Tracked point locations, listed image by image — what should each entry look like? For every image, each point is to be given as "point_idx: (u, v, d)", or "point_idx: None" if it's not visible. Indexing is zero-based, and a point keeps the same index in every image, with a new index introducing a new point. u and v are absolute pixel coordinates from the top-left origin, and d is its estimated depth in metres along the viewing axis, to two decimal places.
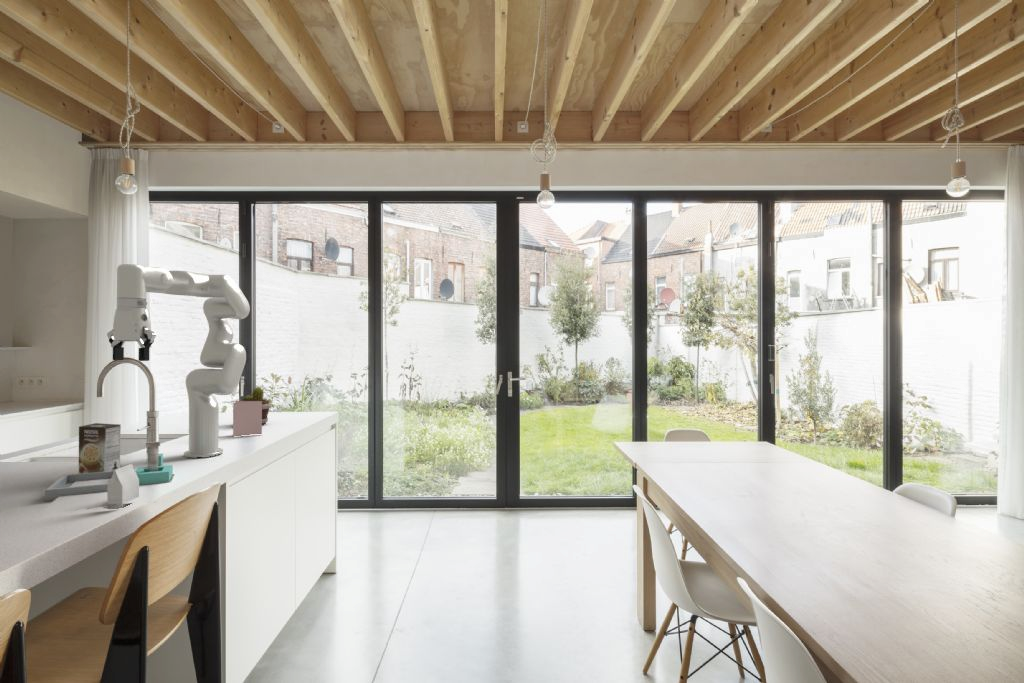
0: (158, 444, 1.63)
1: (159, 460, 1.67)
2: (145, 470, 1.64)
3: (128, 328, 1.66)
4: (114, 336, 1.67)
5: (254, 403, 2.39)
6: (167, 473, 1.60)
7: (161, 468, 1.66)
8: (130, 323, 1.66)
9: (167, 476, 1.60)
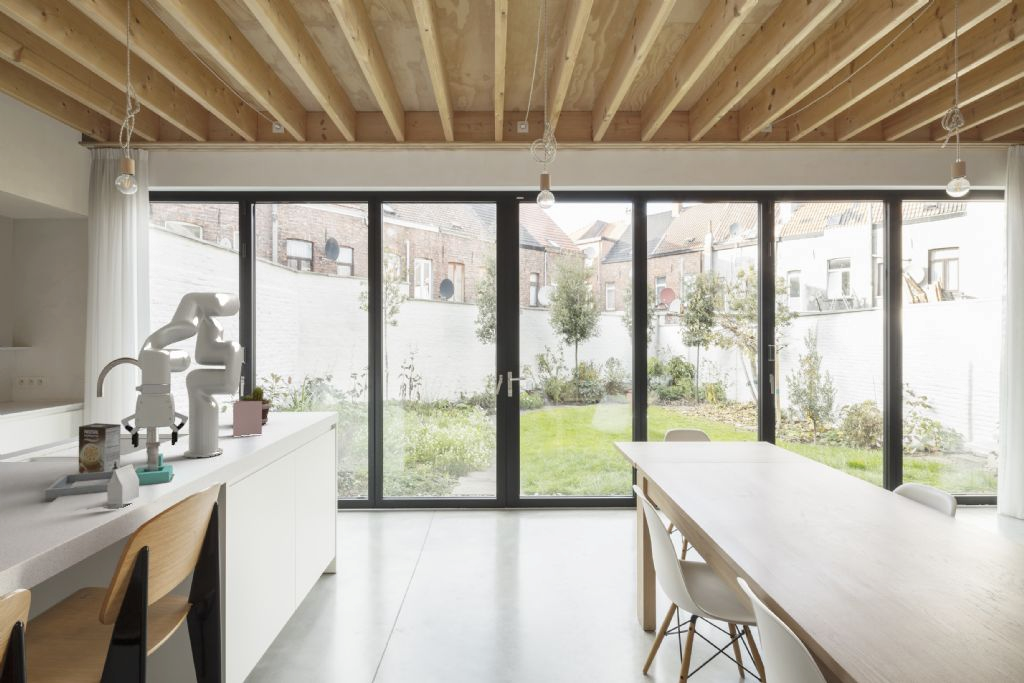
0: (158, 444, 1.63)
1: (159, 460, 1.67)
2: (145, 470, 1.64)
3: None
4: None
5: (254, 403, 2.39)
6: (167, 473, 1.60)
7: (161, 468, 1.66)
8: None
9: (167, 476, 1.60)
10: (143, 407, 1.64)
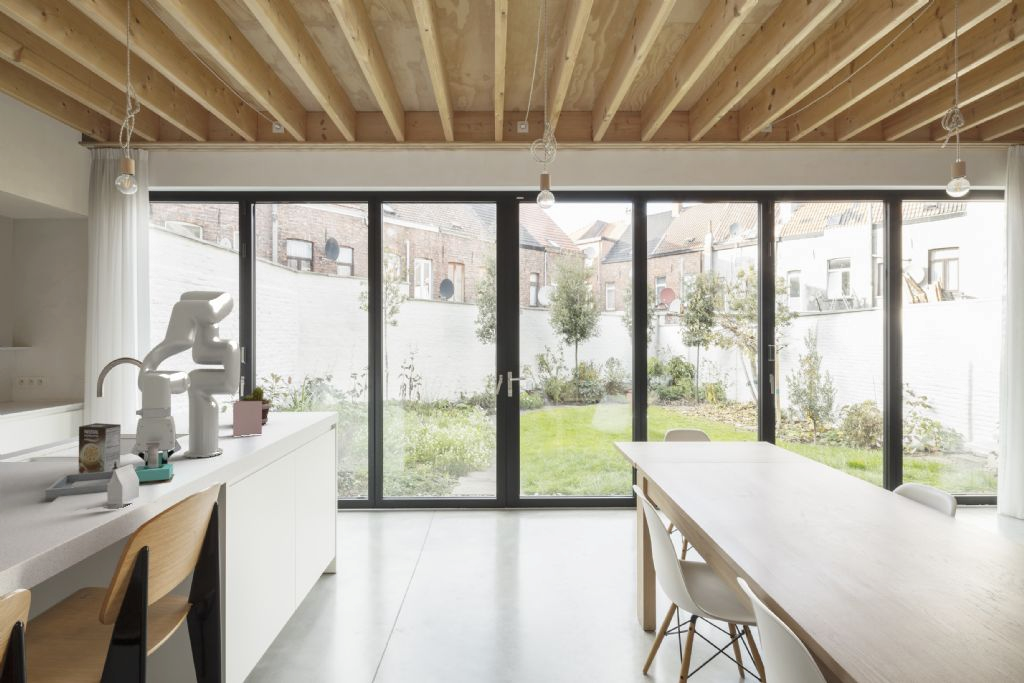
0: (158, 444, 1.63)
1: (159, 458, 1.68)
2: (145, 468, 1.64)
3: None
4: None
5: (254, 403, 2.39)
6: (167, 470, 1.61)
7: (161, 466, 1.66)
8: None
9: (167, 473, 1.61)
10: (144, 431, 1.65)
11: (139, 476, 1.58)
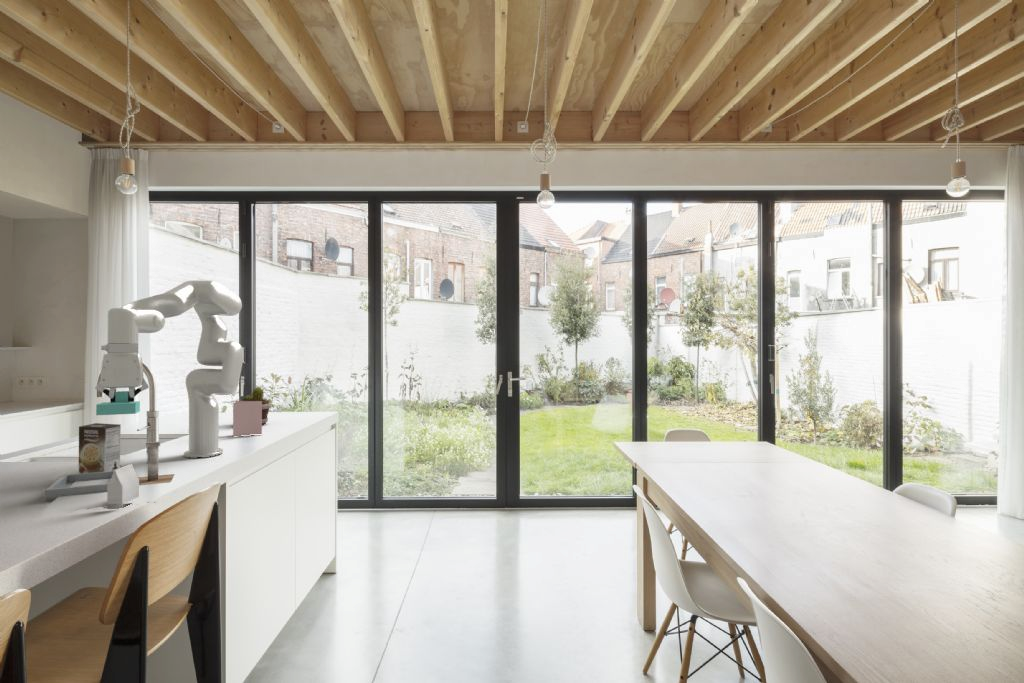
0: (158, 444, 1.63)
1: (126, 396, 1.62)
2: None
3: None
4: None
5: (254, 403, 2.39)
6: (133, 404, 1.56)
7: (128, 403, 1.61)
8: None
9: (133, 407, 1.56)
10: (109, 366, 1.60)
11: (103, 409, 1.52)
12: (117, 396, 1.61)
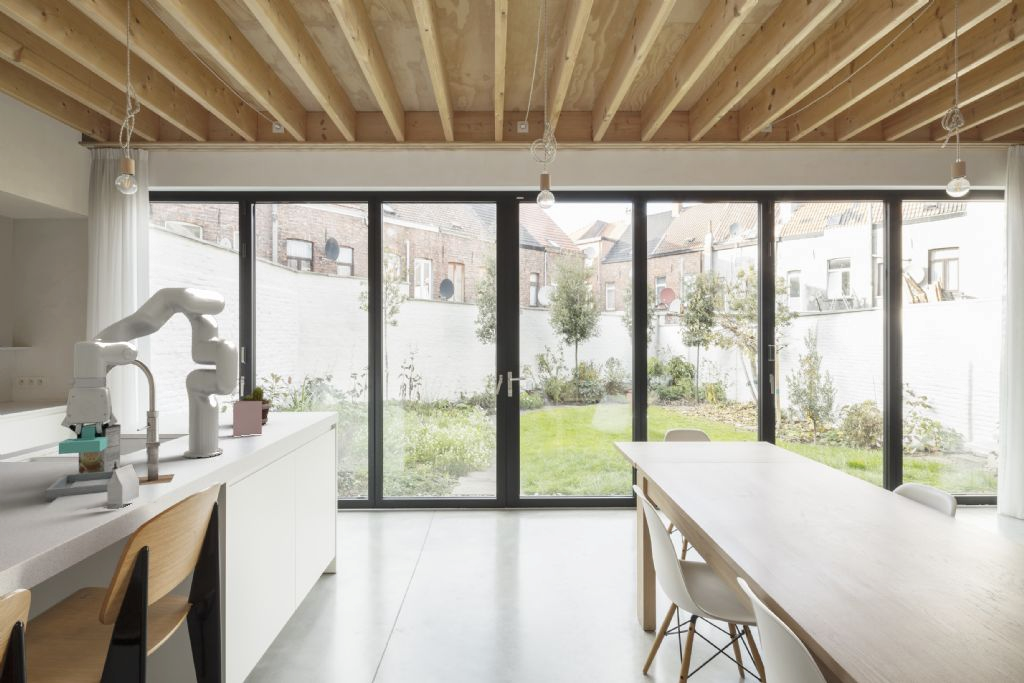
0: (158, 444, 1.63)
1: (92, 431, 1.58)
2: (76, 441, 1.55)
3: None
4: None
5: (254, 403, 2.39)
6: (98, 442, 1.51)
7: (94, 439, 1.57)
8: None
9: (98, 445, 1.51)
10: (75, 402, 1.56)
11: (66, 448, 1.48)
12: (83, 432, 1.57)
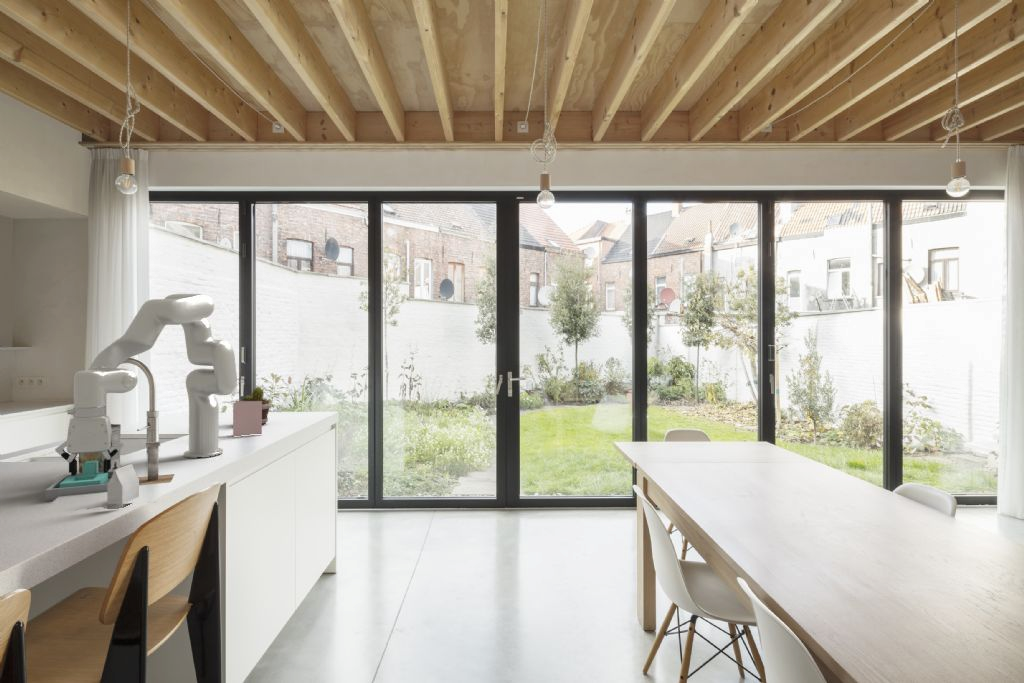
0: (158, 444, 1.63)
1: (93, 468, 1.59)
2: (77, 478, 1.55)
3: None
4: None
5: (254, 403, 2.39)
6: (98, 482, 1.52)
7: (94, 476, 1.57)
8: None
9: None
10: (75, 432, 1.56)
11: None
12: (84, 468, 1.58)
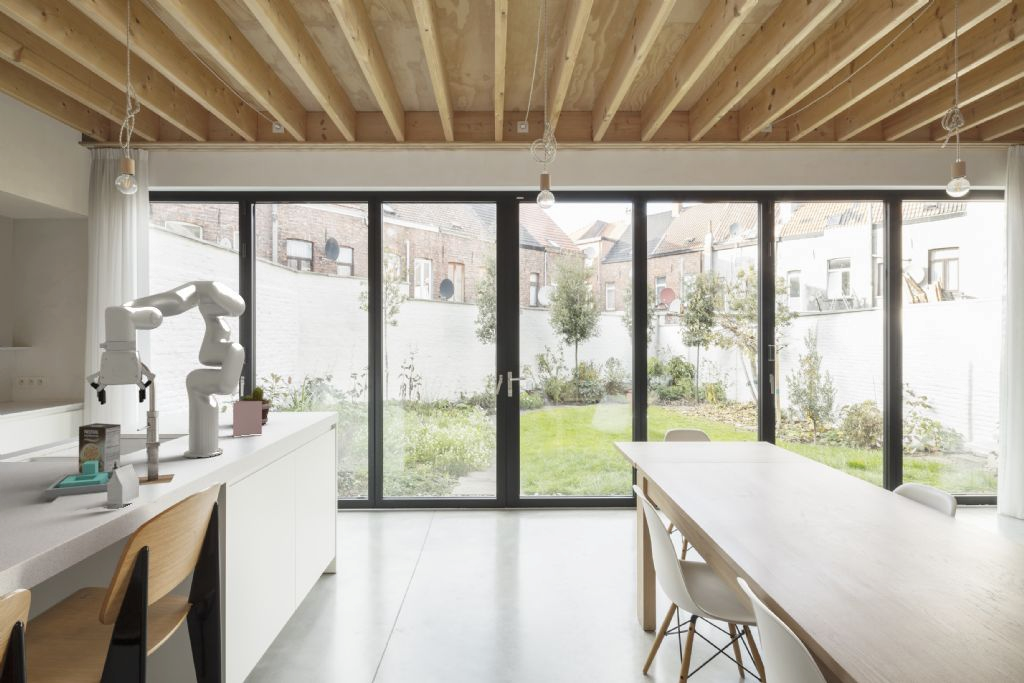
0: (158, 444, 1.63)
1: (93, 468, 1.59)
2: (77, 478, 1.55)
3: None
4: None
5: (254, 403, 2.39)
6: (98, 482, 1.52)
7: (94, 476, 1.57)
8: None
9: None
10: (108, 364, 1.62)
11: None
12: (84, 468, 1.58)
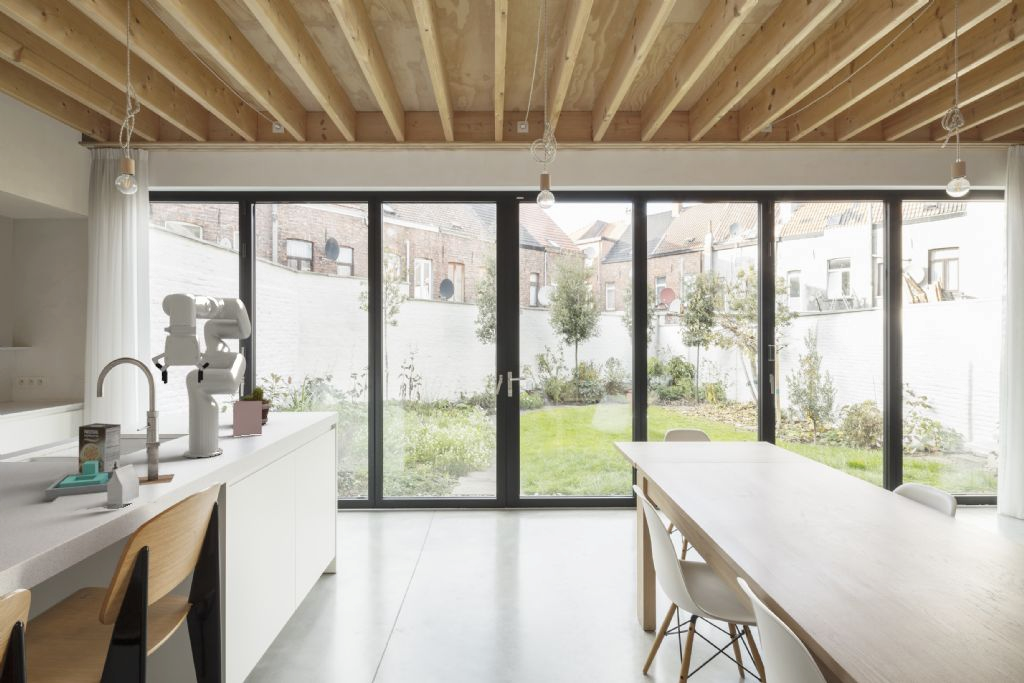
0: (158, 444, 1.63)
1: (93, 468, 1.59)
2: (77, 478, 1.55)
3: None
4: None
5: (254, 403, 2.39)
6: (98, 482, 1.52)
7: (94, 476, 1.57)
8: None
9: None
10: (172, 346, 1.77)
11: None
12: (84, 468, 1.58)
